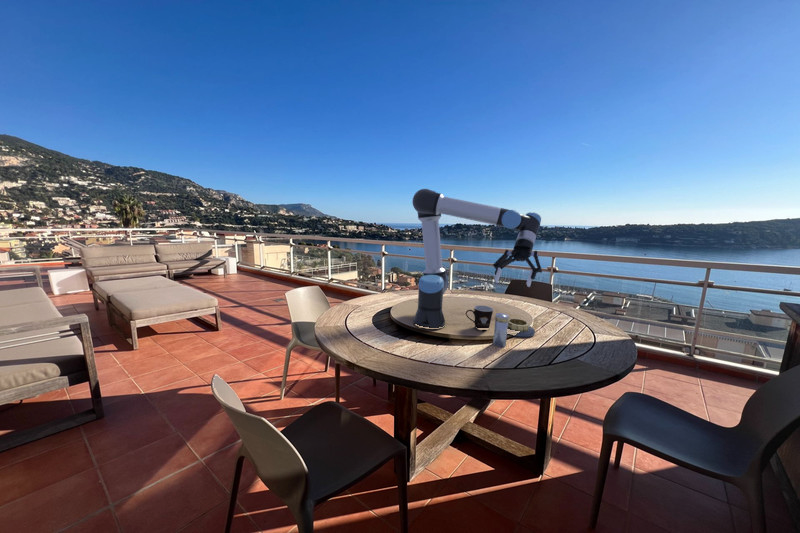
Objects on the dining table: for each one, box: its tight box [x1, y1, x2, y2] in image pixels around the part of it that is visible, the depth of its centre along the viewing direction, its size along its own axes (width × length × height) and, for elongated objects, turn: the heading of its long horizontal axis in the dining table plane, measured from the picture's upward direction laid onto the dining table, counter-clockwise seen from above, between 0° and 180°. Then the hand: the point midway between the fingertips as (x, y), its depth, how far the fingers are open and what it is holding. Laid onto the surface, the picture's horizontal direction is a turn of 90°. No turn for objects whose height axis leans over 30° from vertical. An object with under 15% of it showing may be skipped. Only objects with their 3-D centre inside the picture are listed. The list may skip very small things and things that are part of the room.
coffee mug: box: [465, 305, 494, 329], centre depth 138 cm, size 12×9×10 cm
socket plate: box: [507, 317, 536, 339], centre depth 136 cm, size 15×15×4 cm
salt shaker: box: [492, 312, 510, 348], centre depth 120 cm, size 5×5×13 cm
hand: (511, 283), depth 122 cm, fingers open, 13 cm apart
